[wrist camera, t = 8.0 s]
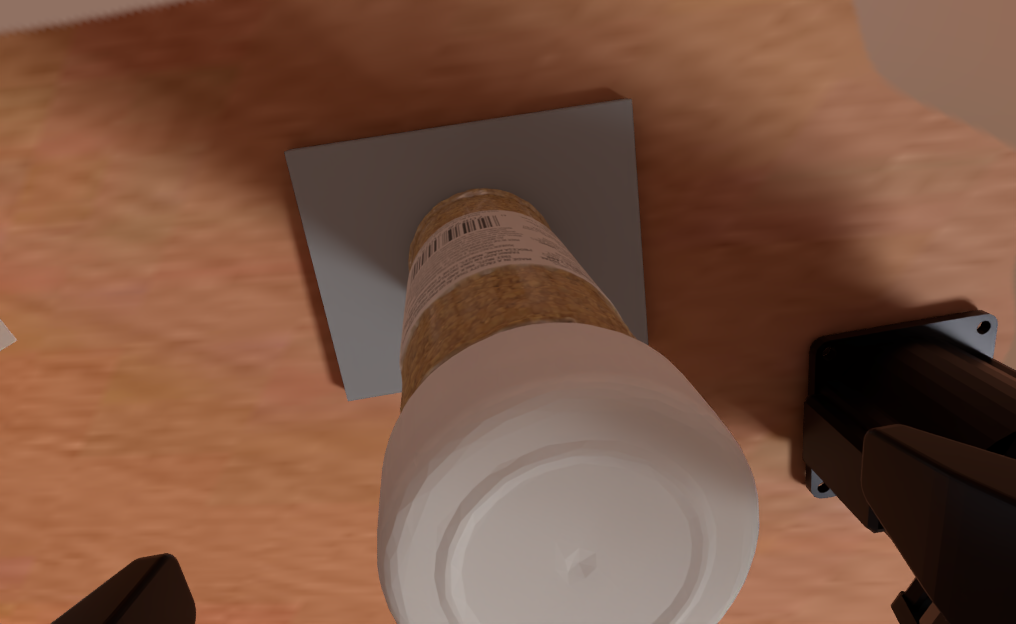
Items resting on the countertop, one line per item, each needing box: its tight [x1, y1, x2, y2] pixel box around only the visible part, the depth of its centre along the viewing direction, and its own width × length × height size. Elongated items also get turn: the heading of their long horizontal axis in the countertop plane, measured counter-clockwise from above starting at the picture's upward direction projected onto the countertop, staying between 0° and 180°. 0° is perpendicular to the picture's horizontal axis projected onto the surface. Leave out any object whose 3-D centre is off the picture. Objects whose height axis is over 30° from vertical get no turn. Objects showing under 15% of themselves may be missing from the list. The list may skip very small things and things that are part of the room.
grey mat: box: [284, 98, 648, 401], centre depth 20 cm, size 10×8×1 cm
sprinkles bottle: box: [377, 188, 759, 624], centre depth 14 cm, size 5×5×13 cm
